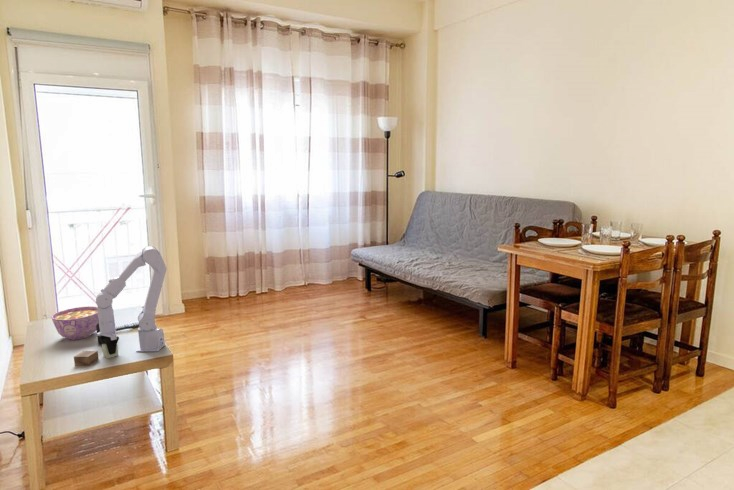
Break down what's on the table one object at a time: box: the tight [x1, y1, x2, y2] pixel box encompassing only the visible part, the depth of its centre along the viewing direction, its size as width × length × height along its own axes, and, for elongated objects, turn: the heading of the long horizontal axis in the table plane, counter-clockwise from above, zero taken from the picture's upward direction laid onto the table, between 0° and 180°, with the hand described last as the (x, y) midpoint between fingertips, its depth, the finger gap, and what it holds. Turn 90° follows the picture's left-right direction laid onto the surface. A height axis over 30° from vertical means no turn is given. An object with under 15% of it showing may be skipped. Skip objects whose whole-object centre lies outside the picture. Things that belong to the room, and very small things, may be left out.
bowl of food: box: [50, 305, 99, 341], centre depth 223 cm, size 20×20×12 cm
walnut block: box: [73, 350, 99, 367], centre depth 194 cm, size 6×6×4 cm
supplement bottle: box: [96, 320, 103, 346], centre depth 215 cm, size 7×7×12 cm
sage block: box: [101, 344, 119, 359], centre depth 201 cm, size 4×4×5 cm
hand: (110, 352), depth 201 cm, fingers closed on sage block, 4 cm apart
